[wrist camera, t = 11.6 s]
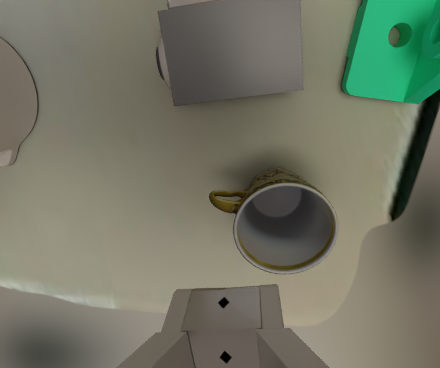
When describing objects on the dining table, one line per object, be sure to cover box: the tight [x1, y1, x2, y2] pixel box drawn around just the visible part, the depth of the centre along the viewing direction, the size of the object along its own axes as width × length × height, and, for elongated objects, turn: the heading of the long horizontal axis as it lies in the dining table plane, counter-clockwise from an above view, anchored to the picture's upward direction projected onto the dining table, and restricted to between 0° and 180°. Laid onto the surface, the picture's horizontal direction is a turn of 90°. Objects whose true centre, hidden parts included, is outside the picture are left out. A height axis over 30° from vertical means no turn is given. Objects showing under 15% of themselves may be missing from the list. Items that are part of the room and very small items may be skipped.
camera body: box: [156, 0, 303, 106], centre depth 30 cm, size 13×8×7 cm, turn 97°
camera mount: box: [342, 0, 440, 104], centre depth 27 cm, size 12×8×10 cm, turn 173°
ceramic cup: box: [209, 167, 338, 274], centre depth 34 cm, size 13×10×10 cm
